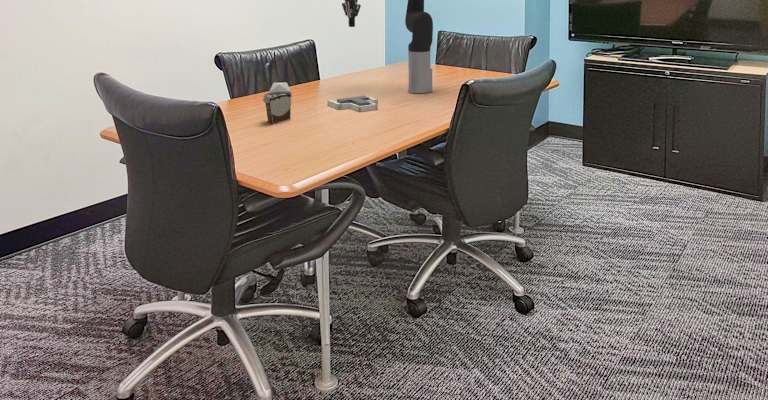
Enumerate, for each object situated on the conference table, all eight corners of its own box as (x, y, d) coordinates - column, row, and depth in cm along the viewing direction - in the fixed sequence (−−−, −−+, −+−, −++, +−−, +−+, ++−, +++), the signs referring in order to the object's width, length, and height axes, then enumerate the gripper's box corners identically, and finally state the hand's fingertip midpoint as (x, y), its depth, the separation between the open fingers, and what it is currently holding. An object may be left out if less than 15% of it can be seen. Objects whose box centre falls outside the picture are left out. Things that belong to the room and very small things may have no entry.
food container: (280, 116, 280) (278, 89, 277) (293, 118, 277) (291, 91, 274) (257, 123, 271) (255, 95, 267) (270, 125, 267) (268, 97, 264)
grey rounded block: (282, 107, 298) (295, 86, 299) (262, 96, 299) (275, 74, 299) (284, 111, 307) (297, 89, 307) (265, 99, 307) (278, 78, 307)
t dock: (365, 100, 306) (365, 95, 305) (387, 108, 291) (387, 102, 290) (327, 105, 298) (327, 100, 297) (348, 113, 283) (348, 108, 283)
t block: (364, 103, 301) (364, 95, 300) (378, 108, 291) (378, 100, 290) (337, 106, 296) (336, 99, 295) (350, 112, 286) (350, 104, 285)
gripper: (366, -16, 308) (367, 27, 313) (351, -18, 319) (352, 24, 324) (349, -16, 304) (351, 28, 310) (335, -17, 315) (336, 26, 321)
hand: (351, 26), depth 317 cm, fingers closed
